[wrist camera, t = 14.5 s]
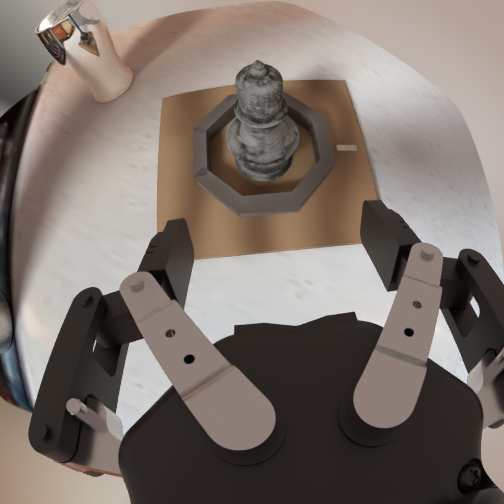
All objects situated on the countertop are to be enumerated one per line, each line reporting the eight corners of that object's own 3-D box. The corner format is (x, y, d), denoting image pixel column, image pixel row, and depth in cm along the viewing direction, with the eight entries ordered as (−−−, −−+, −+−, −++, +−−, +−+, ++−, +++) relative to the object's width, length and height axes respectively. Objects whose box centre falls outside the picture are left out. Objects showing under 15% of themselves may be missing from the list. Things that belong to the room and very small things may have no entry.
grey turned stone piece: (282, 194, 24) (290, 111, 12) (220, 171, 25) (185, 84, 13) (304, 141, 25) (323, 46, 13) (247, 121, 25) (232, 26, 13)
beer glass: (141, 86, 28) (90, 0, 13) (95, 115, 28) (29, 44, 13) (131, 60, 29) (87, -15, 14) (89, 86, 29) (35, 21, 14)
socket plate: (162, 262, 25) (149, 259, 22) (165, 103, 27) (156, 87, 24) (380, 241, 24) (393, 235, 21) (342, 86, 26) (347, 69, 23)
